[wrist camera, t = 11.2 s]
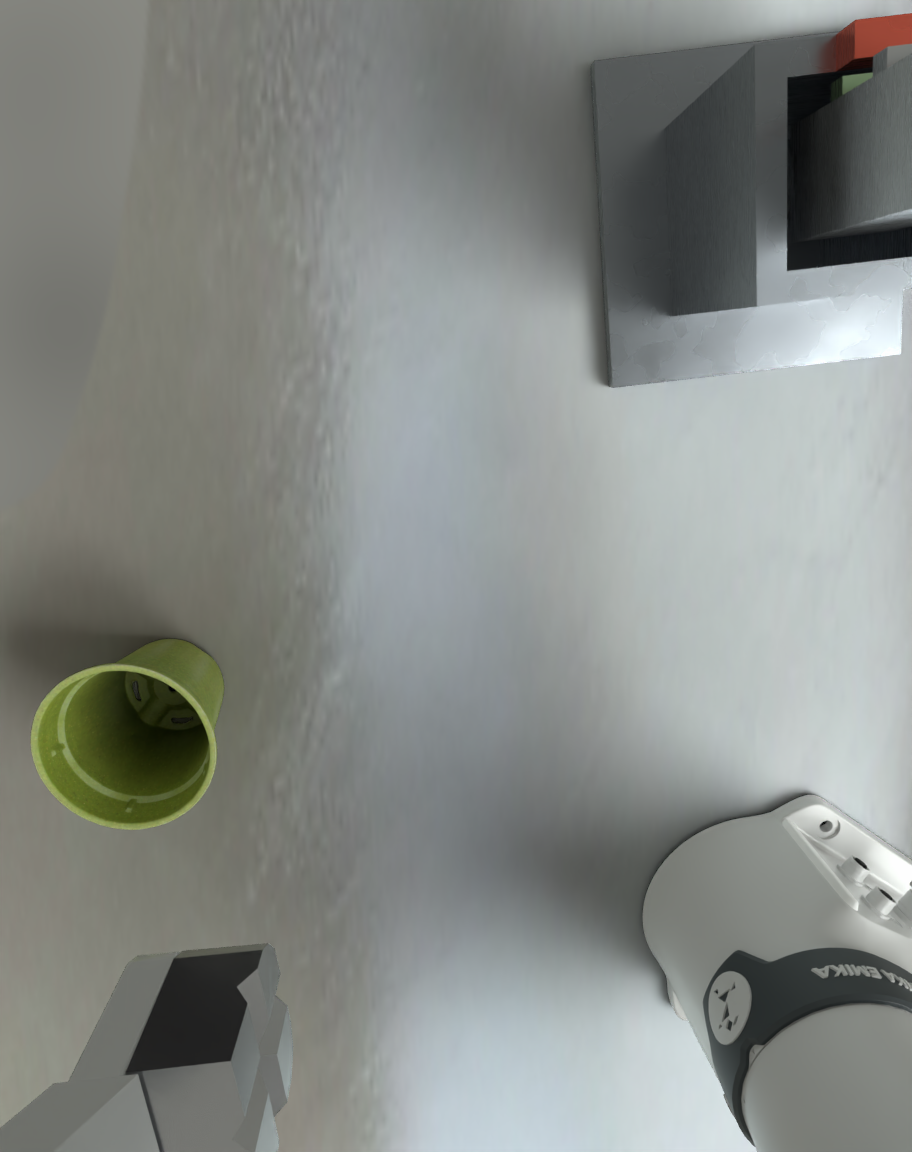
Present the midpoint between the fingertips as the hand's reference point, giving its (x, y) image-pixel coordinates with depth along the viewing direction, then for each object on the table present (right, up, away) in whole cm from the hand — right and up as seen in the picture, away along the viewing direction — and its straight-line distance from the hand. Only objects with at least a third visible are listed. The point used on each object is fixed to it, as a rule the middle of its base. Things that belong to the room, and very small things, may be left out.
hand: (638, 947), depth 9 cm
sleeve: (+14, +23, +34) cm, 44 cm away
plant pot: (-19, -2, +41) cm, 45 cm away
